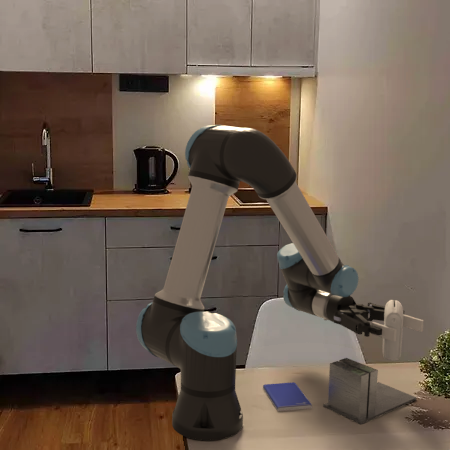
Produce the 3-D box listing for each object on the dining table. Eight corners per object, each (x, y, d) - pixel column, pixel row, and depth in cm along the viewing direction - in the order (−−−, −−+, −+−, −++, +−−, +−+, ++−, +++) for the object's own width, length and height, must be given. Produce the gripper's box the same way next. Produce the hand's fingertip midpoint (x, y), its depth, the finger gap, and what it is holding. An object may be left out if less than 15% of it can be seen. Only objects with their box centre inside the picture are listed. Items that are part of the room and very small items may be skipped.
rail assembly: (360, 424, 155) (363, 377, 153) (322, 406, 163) (325, 361, 161) (416, 399, 168) (419, 356, 166) (378, 384, 176) (381, 342, 174)
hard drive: (312, 403, 162) (295, 381, 174) (277, 406, 161) (262, 384, 172) (312, 410, 163) (295, 387, 174) (277, 413, 161) (262, 390, 173)
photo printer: (401, 361, 163) (404, 309, 160) (381, 360, 164) (385, 308, 161) (400, 345, 172) (403, 296, 170) (382, 344, 173) (385, 295, 171)
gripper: (362, 312, 188) (436, 336, 171) (303, 330, 174) (377, 357, 157) (364, 284, 186) (438, 305, 170) (304, 300, 173) (379, 324, 156)
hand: (408, 330), depth 163 cm, fingers closed on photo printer, 9 cm apart
